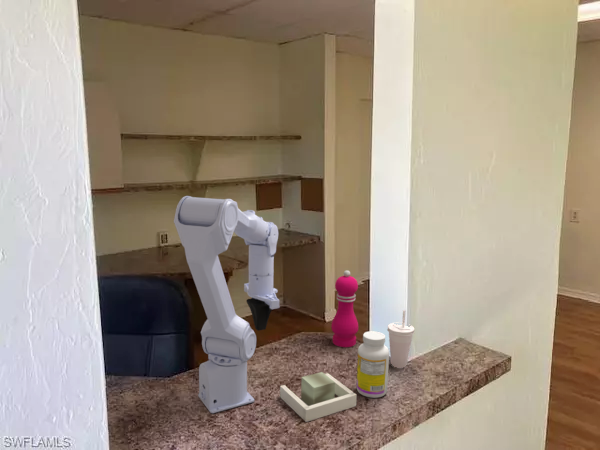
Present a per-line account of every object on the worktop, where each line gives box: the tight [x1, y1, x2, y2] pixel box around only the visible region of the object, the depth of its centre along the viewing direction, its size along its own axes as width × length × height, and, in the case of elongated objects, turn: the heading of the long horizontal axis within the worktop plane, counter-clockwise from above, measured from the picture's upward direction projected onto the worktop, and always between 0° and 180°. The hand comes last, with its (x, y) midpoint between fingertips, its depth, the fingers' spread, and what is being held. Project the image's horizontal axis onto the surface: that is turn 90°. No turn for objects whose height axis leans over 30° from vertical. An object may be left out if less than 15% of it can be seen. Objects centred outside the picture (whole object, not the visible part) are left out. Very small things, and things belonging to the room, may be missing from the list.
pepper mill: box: [330, 270, 359, 348], centre depth 129 cm, size 7×7×20 cm
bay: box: [279, 372, 357, 423], centre depth 101 cm, size 12×10×2 cm
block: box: [300, 371, 336, 406], centre depth 101 cm, size 5×5×5 cm
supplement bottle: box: [356, 330, 390, 399], centre depth 105 cm, size 7×7×13 cm
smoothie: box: [386, 309, 415, 369], centre depth 118 cm, size 6×6×14 cm
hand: (260, 329), depth 115 cm, fingers closed
